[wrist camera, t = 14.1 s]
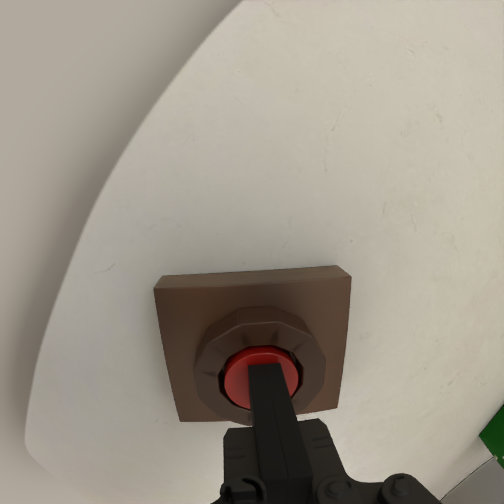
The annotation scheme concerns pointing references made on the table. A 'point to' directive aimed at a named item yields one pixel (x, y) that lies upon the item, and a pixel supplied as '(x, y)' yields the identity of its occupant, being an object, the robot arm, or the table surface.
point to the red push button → (255, 355)
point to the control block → (253, 334)
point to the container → (480, 486)
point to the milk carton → (495, 437)
